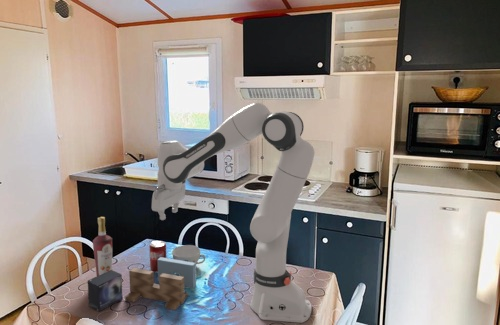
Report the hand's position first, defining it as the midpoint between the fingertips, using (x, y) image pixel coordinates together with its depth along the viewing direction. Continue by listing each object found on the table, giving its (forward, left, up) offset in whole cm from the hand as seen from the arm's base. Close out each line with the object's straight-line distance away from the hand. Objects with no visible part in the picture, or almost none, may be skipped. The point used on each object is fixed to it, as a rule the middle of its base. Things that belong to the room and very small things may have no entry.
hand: (169, 215), depth 147 cm
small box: (+15, +20, -29) cm, 39 cm away
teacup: (-1, -15, -29) cm, 33 cm away
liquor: (+25, +9, -29) cm, 40 cm away
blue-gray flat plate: (-3, 0, -29) cm, 29 cm away
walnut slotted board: (-1, +12, -29) cm, 31 cm away
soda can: (+11, -10, -29) cm, 33 cm away
